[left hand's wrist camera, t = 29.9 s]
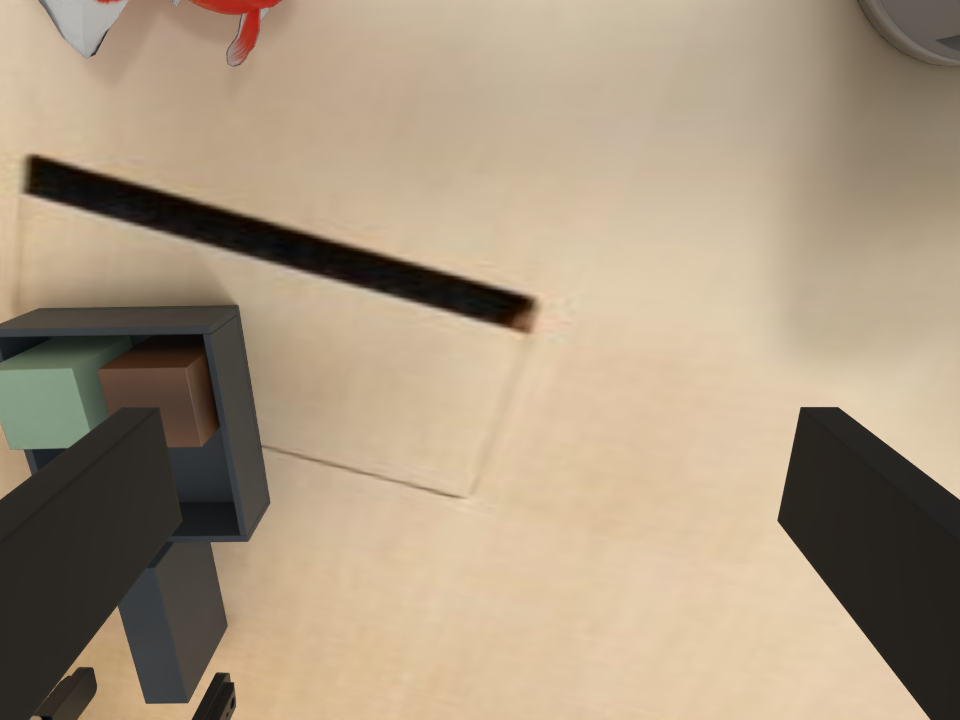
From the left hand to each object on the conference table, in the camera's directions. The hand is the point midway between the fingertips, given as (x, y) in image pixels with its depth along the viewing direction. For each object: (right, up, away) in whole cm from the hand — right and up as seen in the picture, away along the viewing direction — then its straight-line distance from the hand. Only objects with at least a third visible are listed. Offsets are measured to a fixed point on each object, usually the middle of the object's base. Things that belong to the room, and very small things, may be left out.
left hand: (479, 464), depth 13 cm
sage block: (-25, +1, +27) cm, 37 cm away
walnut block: (-19, +1, +27) cm, 33 cm away
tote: (-22, -7, +31) cm, 39 cm away
